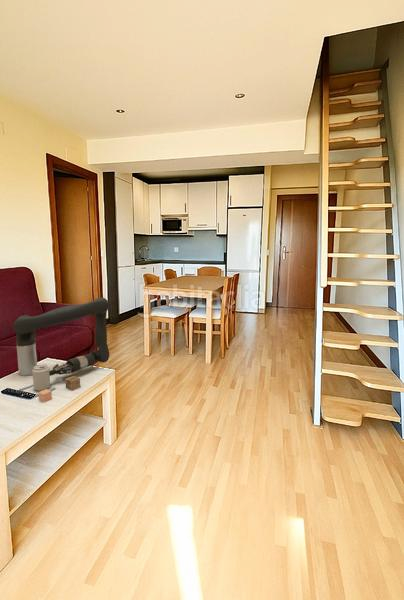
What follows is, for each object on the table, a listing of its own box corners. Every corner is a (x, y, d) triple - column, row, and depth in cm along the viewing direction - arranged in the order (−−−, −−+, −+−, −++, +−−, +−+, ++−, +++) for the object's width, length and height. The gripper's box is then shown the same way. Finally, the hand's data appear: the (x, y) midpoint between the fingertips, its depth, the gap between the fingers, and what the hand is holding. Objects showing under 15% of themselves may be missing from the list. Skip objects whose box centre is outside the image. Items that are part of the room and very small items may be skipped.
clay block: (38, 400, 142) (38, 392, 141) (47, 396, 145) (46, 389, 144) (43, 402, 140) (43, 394, 139) (51, 399, 143) (51, 391, 142)
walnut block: (65, 388, 154) (65, 379, 153) (74, 384, 158) (73, 375, 158) (71, 390, 152) (71, 381, 151) (80, 387, 156) (79, 377, 155)
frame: (17, 390, 150) (17, 390, 150) (40, 382, 160) (40, 381, 160) (32, 398, 143) (32, 397, 143) (56, 389, 153) (55, 388, 153)
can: (44, 392, 149) (43, 369, 148) (30, 391, 150) (28, 368, 148) (53, 385, 157) (51, 363, 155) (39, 384, 157) (38, 363, 155)
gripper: (69, 355, 173) (40, 364, 159) (84, 360, 166) (54, 369, 152) (70, 367, 174) (41, 377, 160) (84, 372, 167) (55, 383, 153)
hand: (47, 374), depth 156 cm, fingers closed
